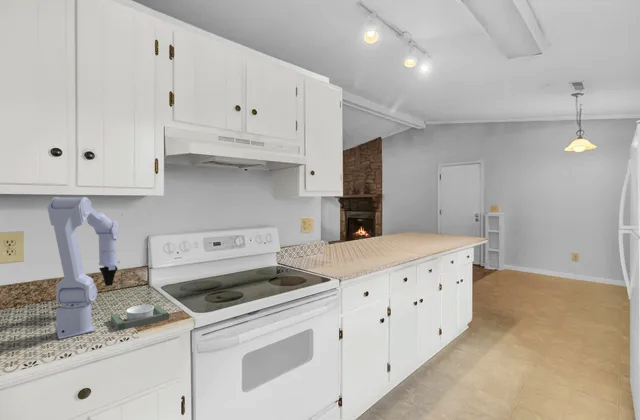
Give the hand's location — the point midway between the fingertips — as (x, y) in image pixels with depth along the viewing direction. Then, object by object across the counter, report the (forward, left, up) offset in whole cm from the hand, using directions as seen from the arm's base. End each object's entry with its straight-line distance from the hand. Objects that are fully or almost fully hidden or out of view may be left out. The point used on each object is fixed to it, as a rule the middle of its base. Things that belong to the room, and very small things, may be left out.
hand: (108, 285), depth 134 cm
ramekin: (+6, -20, -10) cm, 23 cm away
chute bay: (+6, -20, -9) cm, 23 cm away
